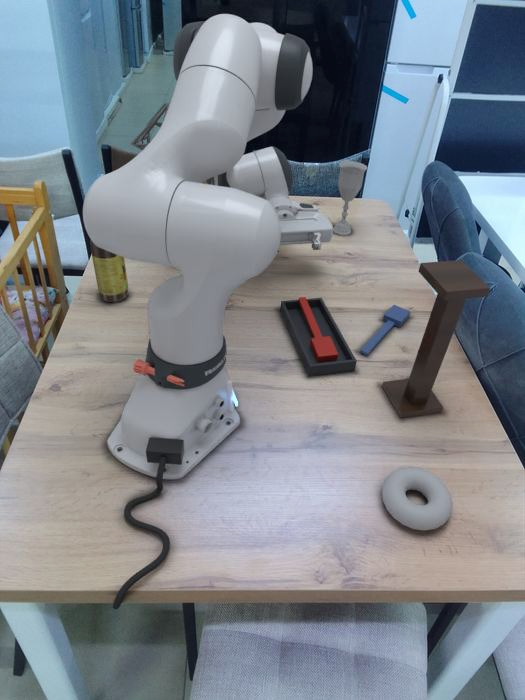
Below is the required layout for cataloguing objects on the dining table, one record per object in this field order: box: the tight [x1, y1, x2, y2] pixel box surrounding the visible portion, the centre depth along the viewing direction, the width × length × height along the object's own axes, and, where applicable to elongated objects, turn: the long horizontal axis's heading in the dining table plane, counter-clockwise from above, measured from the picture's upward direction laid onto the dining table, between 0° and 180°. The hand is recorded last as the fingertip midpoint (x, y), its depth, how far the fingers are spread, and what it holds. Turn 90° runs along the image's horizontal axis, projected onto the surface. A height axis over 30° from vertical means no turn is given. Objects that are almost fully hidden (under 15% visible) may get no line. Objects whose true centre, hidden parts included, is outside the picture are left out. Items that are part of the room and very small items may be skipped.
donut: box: [381, 466, 453, 531], centre depth 73 cm, size 10×3×10 cm
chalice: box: [333, 160, 368, 236], centre depth 135 cm, size 7×7×18 cm
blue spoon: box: [359, 304, 411, 357], centre depth 105 cm, size 18×4×2 cm, turn 144°
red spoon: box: [297, 296, 338, 362], centre depth 102 cm, size 18×4×2 cm, turn 13°
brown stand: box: [381, 259, 491, 419], centre depth 83 cm, size 8×8×26 cm
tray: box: [279, 297, 358, 377], centre depth 102 cm, size 21×9×2 cm, turn 13°
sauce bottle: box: [89, 239, 129, 303], centre depth 104 cm, size 6×6×20 cm
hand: (296, 248), depth 108 cm, fingers open, 8 cm apart
